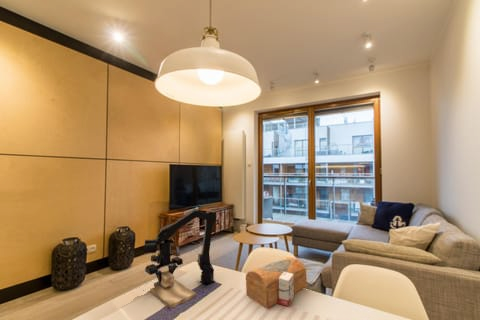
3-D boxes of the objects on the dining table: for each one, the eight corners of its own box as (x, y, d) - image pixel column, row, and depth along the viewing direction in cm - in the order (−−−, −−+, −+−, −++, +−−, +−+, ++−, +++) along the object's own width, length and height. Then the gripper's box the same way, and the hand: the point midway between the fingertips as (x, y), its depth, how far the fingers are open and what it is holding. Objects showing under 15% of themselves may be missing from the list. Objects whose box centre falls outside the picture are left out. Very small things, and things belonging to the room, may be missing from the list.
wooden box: (268, 311, 104) (268, 279, 104) (244, 295, 117) (245, 266, 117) (309, 289, 122) (309, 262, 122) (285, 277, 135) (285, 253, 135)
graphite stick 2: (166, 283, 127) (165, 279, 128) (168, 281, 126) (167, 278, 127) (156, 287, 123) (155, 283, 124) (157, 285, 122) (156, 282, 123)
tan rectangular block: (166, 279, 126) (167, 270, 126) (173, 285, 121) (174, 276, 121) (158, 282, 123) (158, 273, 122) (164, 288, 118) (165, 279, 118)
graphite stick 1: (166, 284, 128) (164, 282, 129) (166, 280, 128) (164, 279, 129) (155, 288, 123) (153, 286, 125) (155, 284, 123) (153, 283, 125)
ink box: (288, 307, 105) (288, 280, 106) (278, 304, 108) (278, 278, 108) (294, 297, 113) (294, 273, 113) (284, 295, 115) (284, 271, 116)
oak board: (174, 282, 129) (174, 279, 129) (195, 296, 115) (196, 293, 115) (150, 291, 119) (150, 288, 119) (170, 308, 105) (170, 305, 105)
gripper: (172, 243, 136) (172, 271, 135) (140, 252, 122) (140, 282, 122) (183, 248, 128) (183, 277, 128) (150, 258, 115) (150, 290, 114)
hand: (164, 281), depth 123 cm, fingers closed on tan rectangular block, 5 cm apart
